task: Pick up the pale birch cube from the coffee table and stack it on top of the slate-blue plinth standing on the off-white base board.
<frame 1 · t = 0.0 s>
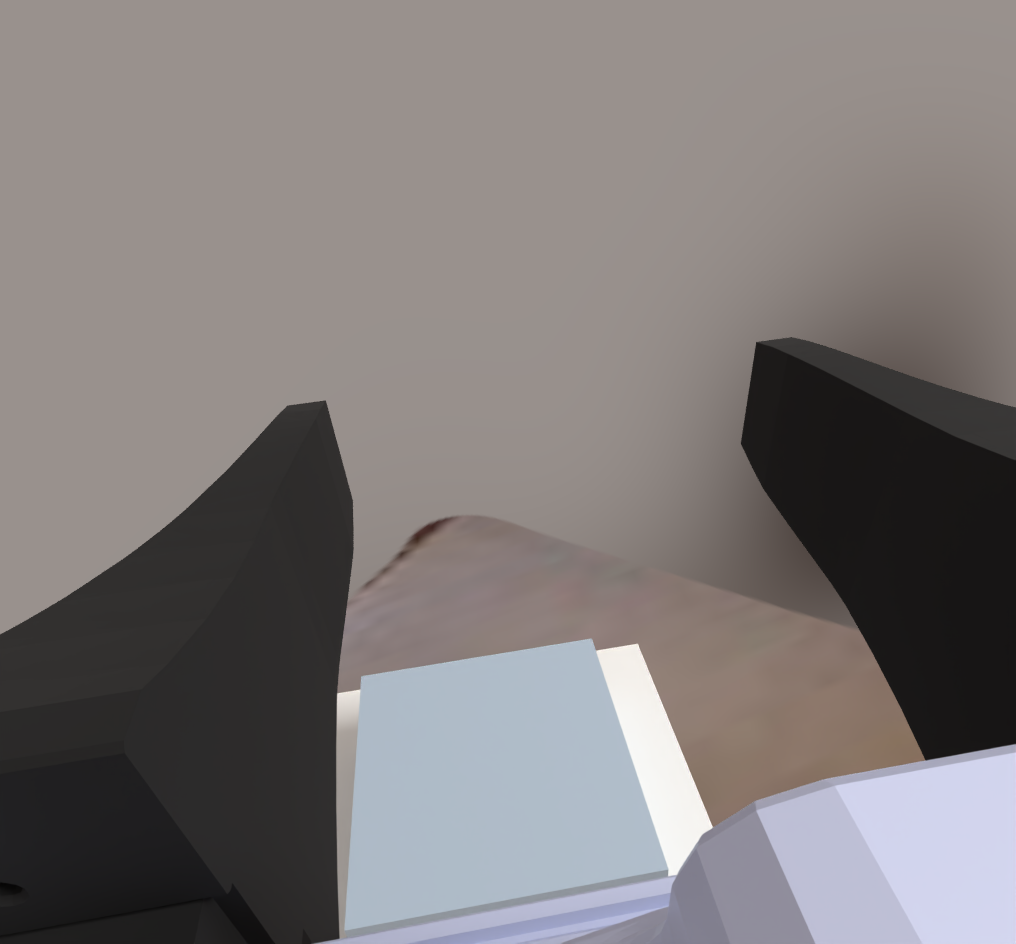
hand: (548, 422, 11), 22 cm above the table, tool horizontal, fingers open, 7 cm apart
plinth base: (503, 838, 28), on the table
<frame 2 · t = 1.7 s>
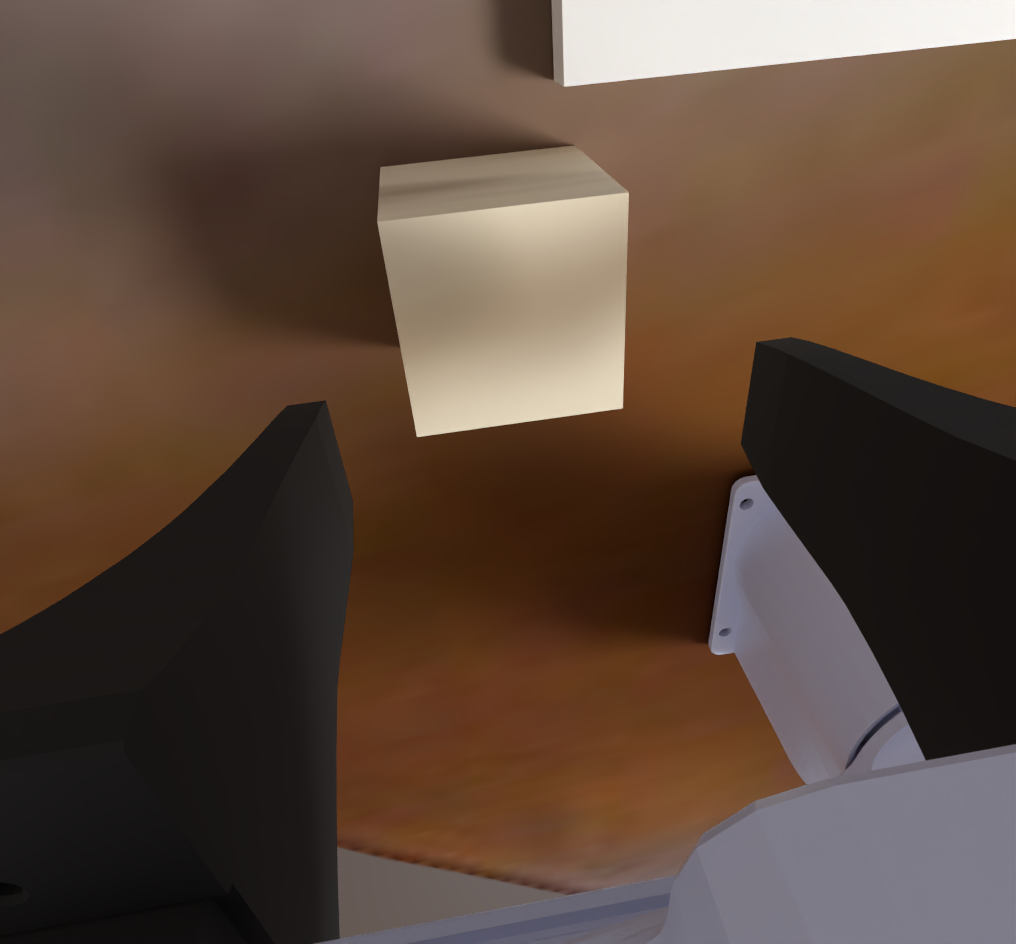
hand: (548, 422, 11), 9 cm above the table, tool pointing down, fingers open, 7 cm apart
birch cube: (487, 252, 19), on the table
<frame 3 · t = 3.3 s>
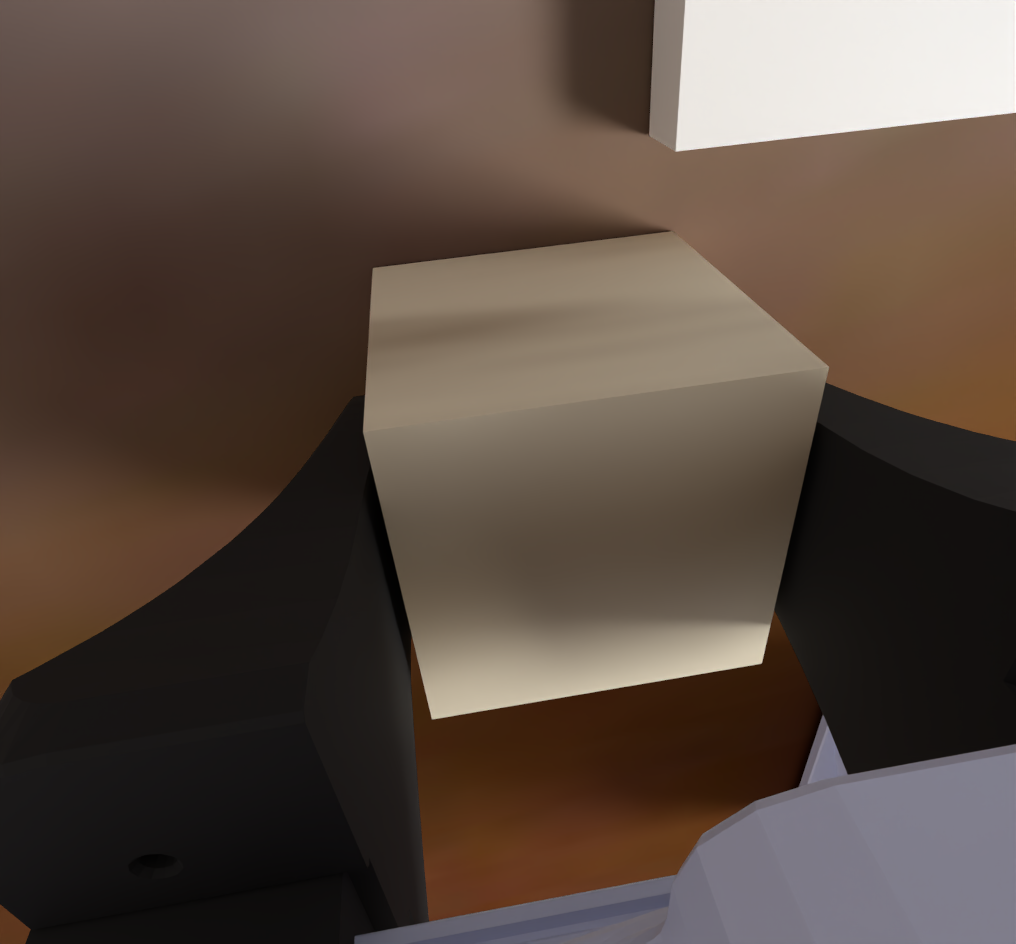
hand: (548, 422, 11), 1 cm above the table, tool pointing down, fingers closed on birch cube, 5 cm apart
birch cube: (533, 383, 13), on the table, touching gripper
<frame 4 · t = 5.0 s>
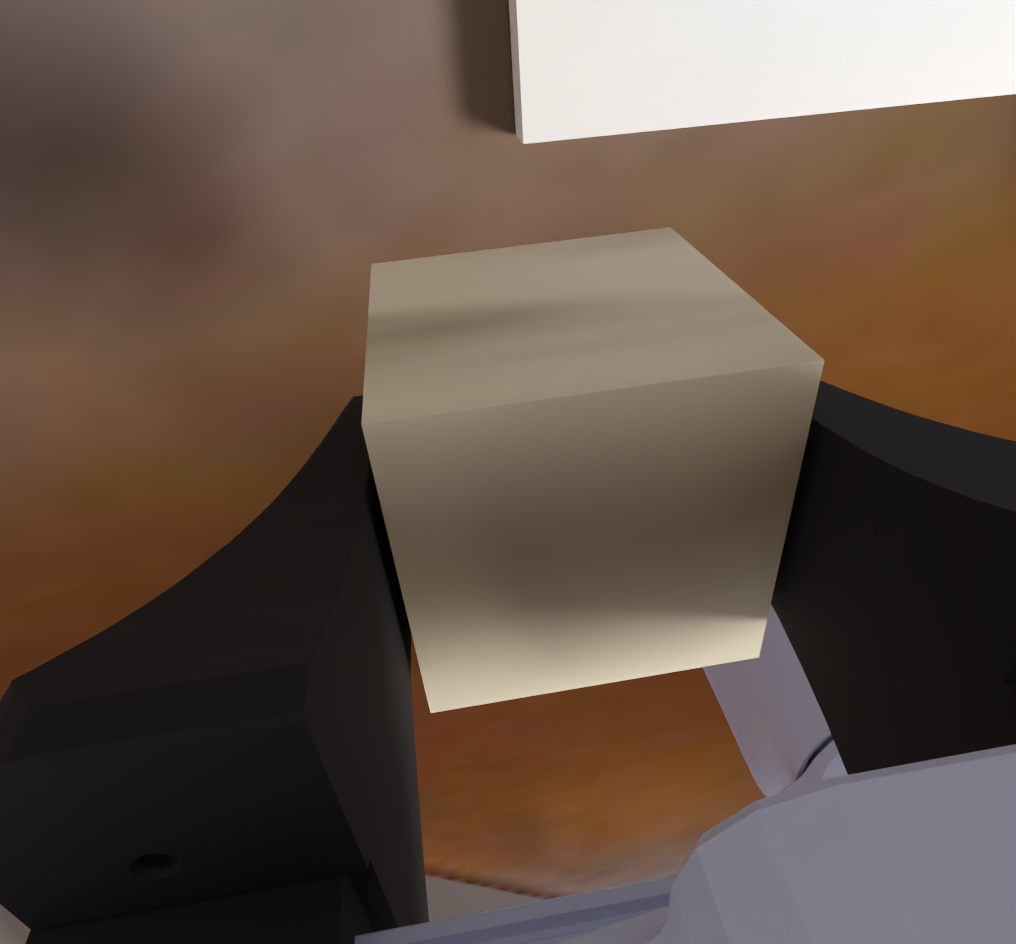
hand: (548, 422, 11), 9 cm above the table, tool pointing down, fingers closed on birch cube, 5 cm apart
birch cube: (531, 379, 13), point 8 cm above the table, touching gripper
when the fingers open (8 cm above the table, at t = 7.1 s): birch cube stays where it is, resting on plinth base.
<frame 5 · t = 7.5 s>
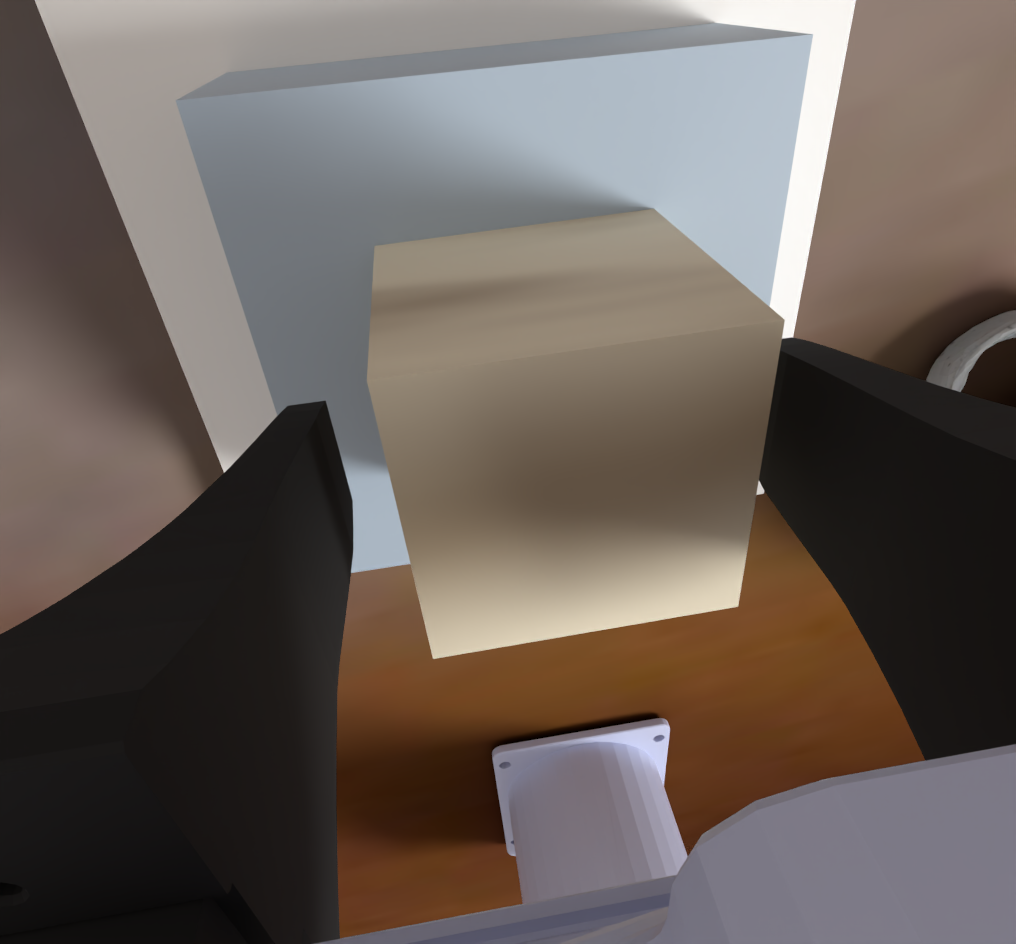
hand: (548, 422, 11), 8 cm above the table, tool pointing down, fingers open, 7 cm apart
birch cube: (526, 355, 13), point 5 cm above the table, touching plinth base
ceramic mug: (989, 432, 24), on the table
plinth base: (492, 269, 18), on the table
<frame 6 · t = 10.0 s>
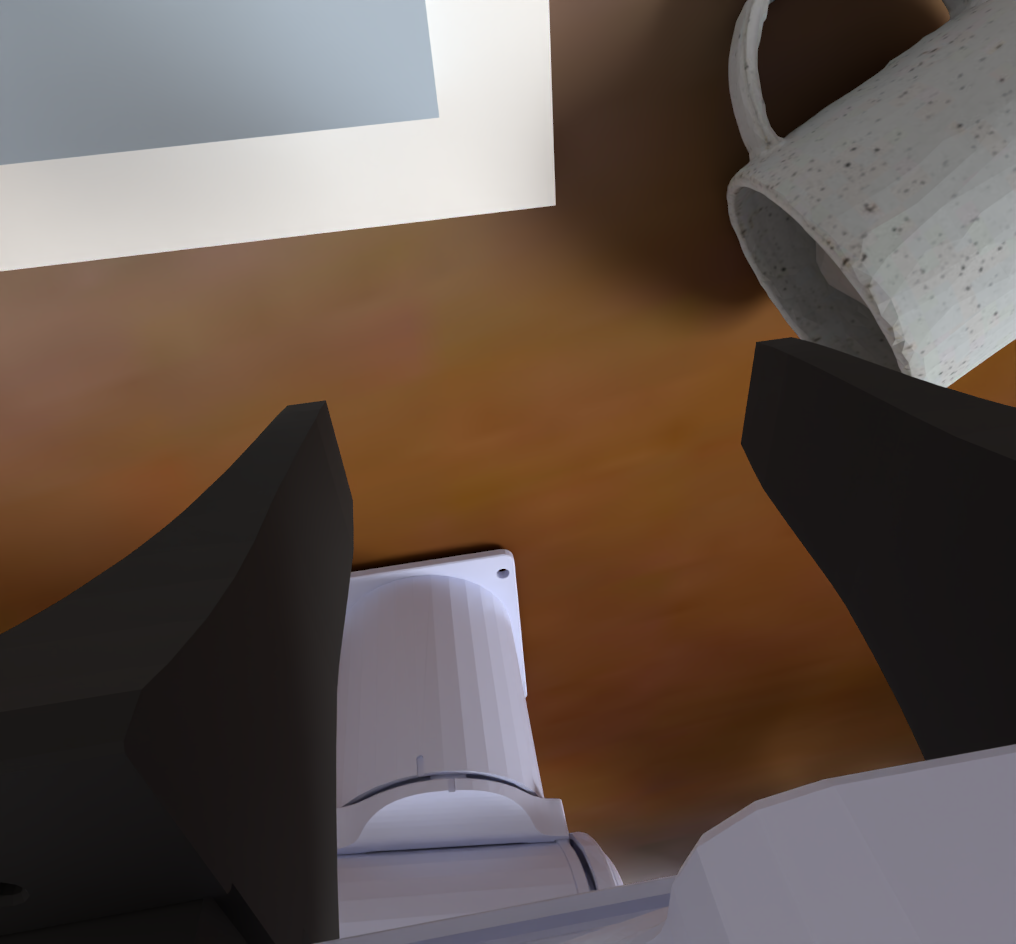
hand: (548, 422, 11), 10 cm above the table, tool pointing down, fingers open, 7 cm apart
ceramic mug: (834, 140, 20), on the table
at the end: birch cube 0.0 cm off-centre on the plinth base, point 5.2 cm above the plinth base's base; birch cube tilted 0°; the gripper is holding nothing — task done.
